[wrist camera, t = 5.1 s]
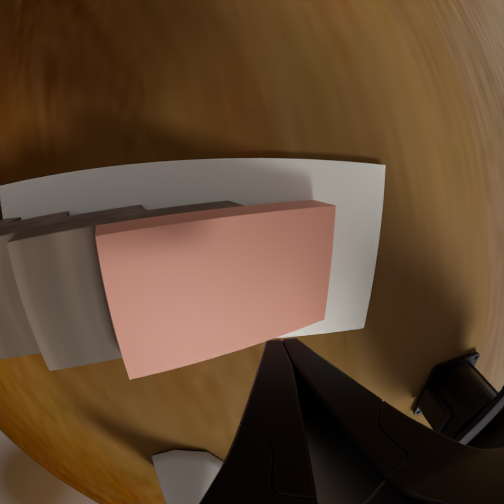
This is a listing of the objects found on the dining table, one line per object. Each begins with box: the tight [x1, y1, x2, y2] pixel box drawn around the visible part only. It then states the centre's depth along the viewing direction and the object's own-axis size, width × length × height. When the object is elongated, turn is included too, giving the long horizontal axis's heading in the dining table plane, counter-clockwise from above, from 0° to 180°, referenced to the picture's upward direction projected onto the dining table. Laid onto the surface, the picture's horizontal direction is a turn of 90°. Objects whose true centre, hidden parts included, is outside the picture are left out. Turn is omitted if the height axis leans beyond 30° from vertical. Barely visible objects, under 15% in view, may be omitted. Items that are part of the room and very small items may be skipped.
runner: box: [0, 158, 386, 338], centre depth 15 cm, size 22×10×1 cm, turn 90°
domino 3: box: [95, 200, 336, 379], centre depth 12 cm, size 2×6×10 cm
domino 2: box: [7, 200, 244, 371], centre depth 12 cm, size 2×6×10 cm
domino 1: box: [0, 205, 146, 359], centre depth 11 cm, size 2×6×10 cm
